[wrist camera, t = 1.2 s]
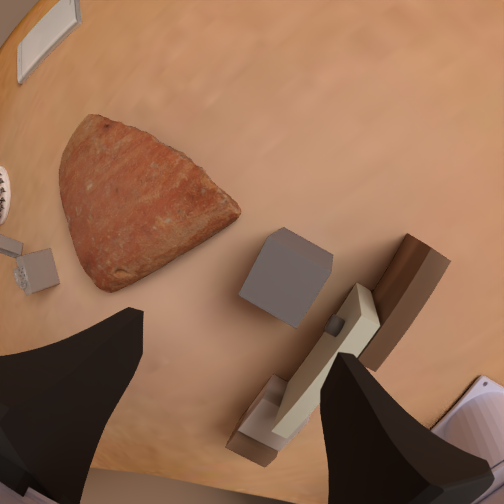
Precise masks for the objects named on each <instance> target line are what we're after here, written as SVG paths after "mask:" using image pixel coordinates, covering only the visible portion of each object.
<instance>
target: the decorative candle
mask: <svg viewBox="0 0 504 504" xmlns="http://www.w3.org/2000/svg"><path fill="white" fill-rule="evenodd" d="M10 199H11V189H10V180H9V176H8V172H7V171H6V169H5V168H4V167H3V166H0V224H3V223H4V222H5V220H6V218H7V217H8V212H9V208H10Z"/></svg>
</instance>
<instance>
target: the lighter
mask: <svg viewBox="0 0 504 504" xmlns="http://www.w3.org/2000/svg"><path fill="white" fill-rule="evenodd" d="M22 249H23V243H22V242H19V241H17V240H14V239H11V238H9V237H6V236H3V235H1V234H0V253H2V254H5V255H8V256H11V257H14V258H16V261H17V266H18V268H15V269H13V273H14V277H15V280H16V284H17V286H19V287H20V288H21V289H24V292H25V294H26V295H29V294H33V293H35V292H38V291H41V290H43V289H46V288H49V287H52V286H55V285H57V284H60V281H59V277H58V274H57V270H56V266H55V262H54V258H53V254H52V250H51V248H49V249H45V250H41V251H37V252H33V253H29V254H25V255H22Z"/></svg>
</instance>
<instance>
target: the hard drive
mask: <svg viewBox="0 0 504 504" xmlns="http://www.w3.org/2000/svg"><path fill="white" fill-rule="evenodd" d="M81 24H82V19H81V11H80V1H79V0H60V1H59V2H58V3H57V4H56V5H55V6H54V7H53V8H52V9H51V10H50V11H49V12H48V13H47V14H46V15H45V16H44V17H43V18H42V19H41V20H40V21H39V22H38V23H37V24H36V25H35V26H34V27H33V29H32V30H31V31H30V32H29V33H28V34H27V35H26V37H25V38H24V39H23V40H22V41H21V43H20V44H19V45H18V52H17V76H18V83H19V84H23V83H24V82H25V81H26V80H27V79H28V78H29V76H30V75H31V74H32V73H33V72H34V71H35V70H36V69H37V67H38V66H39V65H40V64H41V63H42V62H43V61H44V60H45V59H46V58H47V57H48V56H49V55H50V54H51V53H52V52H53V51H54V49H55V48H56V47H58V46H59V45H60V44H61V43H62V42H63V41H64V40H65V39H66V38H67V37H68V36H69V35H70V34H71V33H72V32H73V31H74V30H75V29H77V28H78V27H79V26H80V25H81Z"/></svg>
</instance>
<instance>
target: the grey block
mask: <svg viewBox="0 0 504 504" xmlns="http://www.w3.org/2000/svg"><path fill="white" fill-rule="evenodd" d="M332 262H333V254H331V253H329V252H327V251H326V250H324V249H322V248H320V247H319V246H317V245H315V244H313V243H311V242H310V241H308V240H306V239H304V238H303V237H301V236H299V235H297V234H295V233H294V232H292V231H290V230H288V229H286V228H285V227H283V228H282V229H280V230H278V231H277V232H275V233H273V234H271V235H270V236H268V238H267V240H266V242H265V244H264V246H263V248H262V250H261V251H260V253H259V255H258V257H257V259H256V261H255V263H254V265H253V267H252V269H251V271H250V273H249V275H248V277H247V279H246V280H245V282H244V284H243V286H242V288H241V290H240V292H239V294H238V295H239V296H240V297H242V298H244V299H246V300H247V301H249V302H251V303H252V304H254V305H256V306H257V307H259V308H261V309H263V310H264V311H266V312H268V313H270V314H271V315H273V316H275V317H276V318H278V319H280V320H282V321H283V322H285V323H287V324H289V325H291V326H292V327H294V328H297V327H298V325H299V324H300V322H301V321H302V319H303V318H304V316H305V314H306V313H307V311H308V310H309V308H310V306H311V305H312V303H313V302H314V300H315V298H316V297H317V295H318V293H319V292H320V290H321V288H322V287H323V285H324V283H325V282H326V280H327V278H328V277H329V275H330V273H331V271H332Z"/></svg>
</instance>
